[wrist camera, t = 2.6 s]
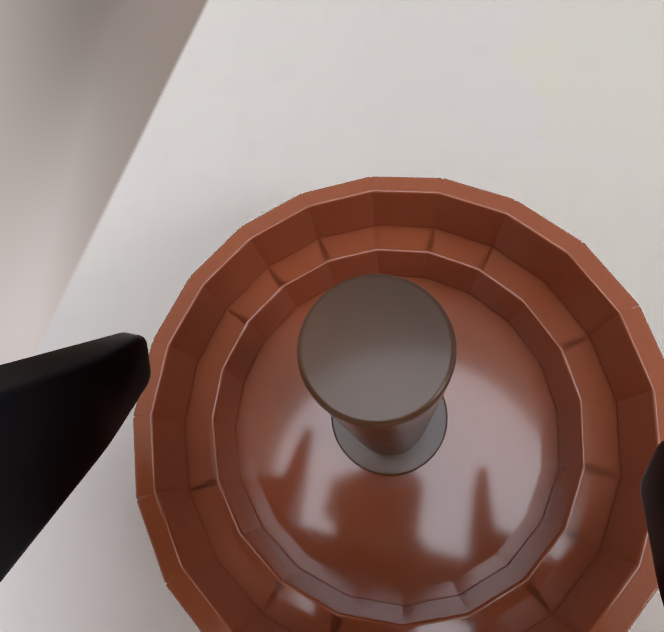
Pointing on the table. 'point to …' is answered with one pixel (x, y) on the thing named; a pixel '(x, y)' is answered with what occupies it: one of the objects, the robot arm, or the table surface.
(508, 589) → the bowl
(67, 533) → the table surface
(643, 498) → the robot arm
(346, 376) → the grey flanged cylindrical pin
